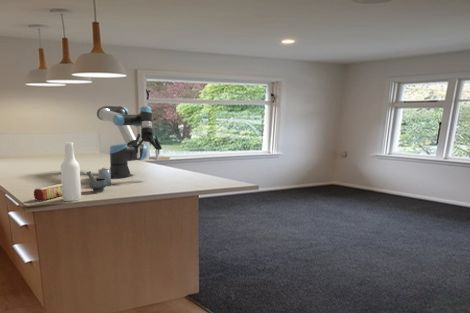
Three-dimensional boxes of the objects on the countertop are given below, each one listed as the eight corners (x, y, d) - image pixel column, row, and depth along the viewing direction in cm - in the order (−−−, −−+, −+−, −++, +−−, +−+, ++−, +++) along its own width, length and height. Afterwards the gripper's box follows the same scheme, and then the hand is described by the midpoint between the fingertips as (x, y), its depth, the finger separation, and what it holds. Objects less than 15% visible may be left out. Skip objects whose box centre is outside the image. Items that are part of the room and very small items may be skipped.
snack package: (67, 192, 192) (66, 180, 191) (75, 193, 190) (75, 181, 189) (33, 201, 172) (32, 188, 172) (42, 202, 170) (42, 189, 169)
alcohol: (83, 197, 180) (80, 141, 176) (78, 201, 171) (75, 143, 168) (65, 197, 178) (62, 141, 175) (60, 202, 170) (56, 143, 166)
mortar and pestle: (109, 189, 199) (108, 169, 197) (105, 193, 190) (104, 172, 188) (89, 189, 198) (88, 169, 196) (84, 193, 188) (83, 172, 187)
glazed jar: (97, 185, 210) (96, 167, 209) (108, 183, 215) (107, 166, 213) (101, 187, 205) (101, 169, 204) (112, 185, 210) (112, 168, 208)
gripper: (131, 124, 218) (132, 155, 213) (165, 129, 234) (167, 158, 229) (126, 127, 224) (127, 158, 219) (160, 132, 240) (162, 161, 235)
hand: (147, 158), depth 224 cm, fingers open, 13 cm apart
